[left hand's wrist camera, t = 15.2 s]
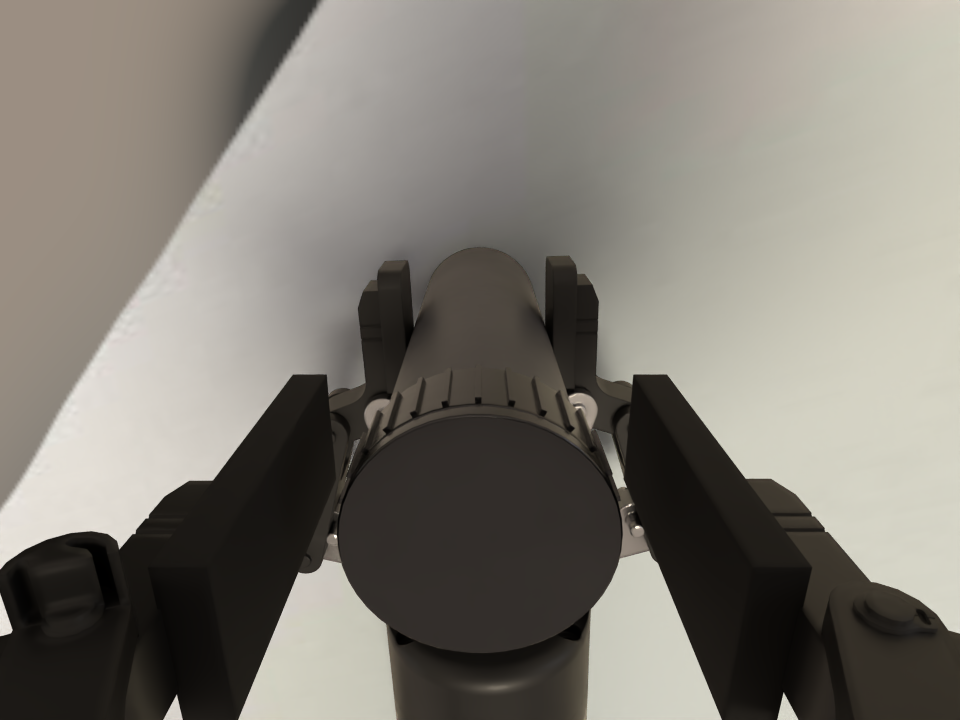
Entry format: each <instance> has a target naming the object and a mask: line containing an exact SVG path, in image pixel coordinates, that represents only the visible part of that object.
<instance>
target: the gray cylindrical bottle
mask: <svg viewBox="0 0 960 720" xmlns="http://www.w3.org/2000/svg"><path fill="white" fill-rule="evenodd" d="M476 365H481V368H493V369H501V370H505V368H506V367H509V368H511V369H512V372H515V373H519V374H523V375H525V376H528V377H530V378H533V377H534V375H535V376H537V377H539V378H540V382H542V383H543V384H545V385H547V386H549V387H551V388H552V389H554V390H555V391H556V392H558V391H559V390H561V391H563V392H564V394H565V397H566V399H567V400H568V401H569V398H568V395H567V392H566V389H565V385H564V382H563V379H562V376H561V373H560V370H559V367H558V364H557V361H556V358H555V355H554V352H553V349H552V346H551V343H550V340H549V337H548V334H547V331H546V328H545V324H544V321H543V318H542V315H541V312H540V309H539V306H538V303H537V300H536V297H535V294H534V291H533V288H532V285H531V282H530V279H529V277H528V275H527V273H526V272H525V271H524V269H523V268H522V267H521V265H520V264H519V263H518V262H517V261H515V260H514V259H513V258H512V257H510V256H509V255H507V254H505V253H503V252H501V251H498V250H495V249H491V248H481V247H477V248H469V249H465V250H462V251H459V252H457V253H455V254H453V255H451V256H450V257H448V258H447V259H446V260H444V261H443V262H442V263H441V264H440V265H439V266H438V268H437V269H436V270H435V272H434V273H433V275H432V277H431V279H430V282H429V284H428V287H427V290H426V293H425V296H424V299H423V303H422V306H421V309H420V312H419V315H418V318H417V321H416V324H415V327H414V330H413V333H412V336H411V339H410V342H409V345H408V348H407V351H406V354H405V357H404V360H403V363H402V366H401V369H400V373H399V376H398V379H397V382H396V385H395V388H394V391H393V394H392V397H391V400H390V402H391V401H392V398H393V395H394V393H396V392H397V391H399V393H400V394H401V393H402V392H403V391H405V390H406V389H407V388H409V387H411V386H413V385H415V384H416V383H417V381H418V378H420V377H424V379H427V378H429V377H432V376H434V375H437V374H440V373H444V372H445V371H446V368H452V370H458V369H466V368H475V366H476ZM569 402H570V401H569Z"/></svg>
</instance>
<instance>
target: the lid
mask: <svg viewBox="0 0 960 720" xmlns="http://www.w3.org/2000/svg"><path fill="white" fill-rule="evenodd" d="M346 477H347V480H346V482H345V485H344V488H343V490H342V493H341V496H340V498H339V504H341V506H340V511H339V516H338V523H337V542H338V551H339V555H340V559H341V563H342V566H343V569H344V571H345V574H346V576H347V578H348V581H349V582H350V584H351V586H352V587H353V589H354V591H355V592H356V594H357V595H358V597H359V598H360V599H361V600H362V601H363V603H364V604H365V605H366V606H367V607H368V608H369V609H370V610H371V611H372V612H373V613H374V614H375V615H376V616H377V617H378V618H379V619H381V620H382V621H383V622H385V623H386V624H387V625H389V626H390V627H391V628H393V629H395V630H396V631H398V632H400V633H402V634H403V635H405V636H407V637H409V638H412V639H414V640H416V641H419V642H421V643H424V644H427V645H430V646H433V647H436V648H441V649H446V650H451V651H457V652H467V653H493V652H503V651H509V650H514V649H519V648H523V647H526V646H530V645H533V644H536V643H539V642H541V641H544V640H546V639H548V638H550V637H553V636H555V635H556V634H558V633H560V632H562V631H563V630H565V629H567V628H568V627H570V626H571V625H572V624H574V623H575V622H576V621H578V620H579V619H580V618H582V617H583V616H584V615H585V614H586V613H587V612H588V611H589V610H590V609H591V608H592V607H593V606H594V605H595V604H596V602H597V601H598V600H599V599H600V597H601V596H602V595H603V594H604V592H605V590H606V589H607V587H608V585H609V584H610V582H611V580H612V578H613V575H614V573H615V571H616V568H617V566H618V562H619V558H620V554H621V550H622V540H623V527H622V517H621V512H620V508H619V503H618V501H621V499H620V495H619V492H618V490H617V487H616V485H615V482H614V479H613V477H612V471H611V468H610V466H609V463H608V461H607V458H606V455H605V453H604V450H603V447H602V445H601V442H600V440H599V437H598V434H597V432H596V430H594V431H591V430H590V428H589V425H588V423H587V420H586V417H585V414H584V412H583V410H582V409H581V408H579V409H578V410H577V409H576V408H575V407H574V406H573V405H572V404H571V403H570V402H569V401H568V400H567V399H566V397H565V394H564V392H563V391H561V390H559V391H558V392H556V391H555V390H554V389H552V388H551V387H549V386H547V385H545V384H543V383H542V382H540V378H539V377H537V376H535V375H534V377H533V378H530V377H528V376H525V375H523V374H519V373H515V372H512V369H511V368H509V367H506V368H505V370H501V369H493V368H481V365H476V366H475V368H466V369H458V370H452V368H446V371H445V372H444V373H440V374H437V375H434V376H432V377H429V378H427V379H424V377H420V378H418V381H417V383H416V384H415V385H413V386H411V387H409V388H407V389H406V390H405V391H403V392H402V393H401V394H400V393H399V391H397V392H396V393H394V395H393V398H392V401H391V402H390V403H389V404H388V405H387V406H386V407H385V408H384V409H383V410H382V412H380V411H379V410H377V411H376V413H375V414H374V417H373V420H372V422H371V425H370V428H369V431H368V433H365V432H363V434H362V436H361V439H360V441H359V444H358V447H357V449H356V452H355V454H354V457H353V460H352V462H351V465H350V467H349V470H348V473H347V475H346Z"/></svg>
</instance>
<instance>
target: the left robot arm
mask: <svg viewBox="0 0 960 720" xmlns="http://www.w3.org/2000/svg"><path fill="white" fill-rule="evenodd" d="M335 481H336V470H335V459H334V449H333V438H332V427H331V417H330V406H329V396H328V385H327V375H292V377H291V378H290V379H289V381H288V382H287V383H286V385H285V386H284V387H283V389H282V390H281V391H280V393H279V394H278V395H277V397H276V398H275V399H274V401H273V402H272V403H271V405H270V406H269V407H268V409H267V410H266V411H265V413H264V414H263V415H262V416H261V418H260V419H259V420H258V422H257V423H256V424H255V426H254V427H253V428H252V430H251V431H250V432H249V434H248V435H247V436H246V438H245V439H244V440H243V442H242V443H241V444H240V446H239V447H238V448H237V450H236V451H235V452H234V454H233V455H232V456H231V458H230V459H229V460H228V461H227V463H226V464H225V465H224V467H223V468H222V469H221V471H220V472H219V473H218V475H217V476H216V477H215V479H214V480H213V481H188V482H187V483H185V484H184V485H182V486H181V487H179V488H177V489H176V490H174V491H173V492H171V493H170V494H168V495H166V496H165V497H164V498H163V499H162V500H161V502H160V503H159V504H158V505H157V506H156V507H155V509H154V510H153V511H152V512H151V513H150V514H149V519H145V520H144V521H143V523H142V524H141V525H140V526H139V527H138V528H137V530H136V534H132V535H131V537H130V538H129V539H128V540H127V541H126V543H125V544H124V545H123V546H122V547H121V548H120V550H119V547H118V543H117V541H116V540H115V539H113V538H112V537H111V536H109V535H108V534H104V533H98V532H92V531H90V532H79V533H69V534H66V535H62V536H59V537H55V538H51V539H48V540H45V541H43V542H41V543H39V544H36V545H34V546H32V547H30V548H28V549H25V550H24V551H22V552H21V553H19V554H18V555H17V556H15V557H14V558H12V559H11V560H9V561H8V562H6V564H5V565H4V566H3V567H2V568H1V569H0V594H1V597H2V600H3V603H4V606H5V609H6V612H7V615H8V617H9V620H10V623H11V626H12V629H13V631H12V633H11V634H8V635H4V636H0V720H163V719H164V717H165V715H166V713H167V712H168V710H169V708H170V706H171V704H172V702H173V700H174V698H175V697H176V695H177V697H178V701H179V705H180V709H181V714H182V718H183V720H238V719H239V716H240V714H241V711H242V709H243V706H244V704H245V701H246V699H247V697H248V694H249V692H250V689H251V687H252V684H253V682H254V679H255V677H256V674H257V672H258V670H259V667H260V665H261V662H262V660H263V657H264V655H265V652H266V650H267V648H268V645H269V643H270V640H271V638H272V635H273V633H274V630H275V628H276V626H277V623H278V621H279V618H280V616H281V613H282V611H283V608H284V606H285V603H286V601H287V599H288V596H289V594H290V591H291V589H292V586H293V584H294V581H295V579H296V577H297V574H298V572H299V569H300V567H301V564H302V562H303V559H304V557H305V555H306V552H307V550H308V547H309V545H310V542H311V540H312V537H313V535H314V532H315V530H316V528H317V525H318V523H319V520H320V518H321V515H322V513H323V510H324V508H325V506H326V503H327V501H328V498H329V496H330V493H331V491H332V488H333V486H334V484H335ZM624 481H625V484H626V486H627V488H628V491H629V493H630V496H631V498H632V501H633V503H634V506H635V508H636V510H637V513H638V515H639V518H640V520H641V523H642V525H643V528H644V530H645V532H646V535H647V537H648V540H649V542H650V545H651V547H652V550H653V552H654V555H655V557H656V559H657V562H658V564H659V567H660V569H661V572H662V574H663V577H664V579H665V581H666V584H667V586H668V589H669V591H670V594H671V596H672V599H673V601H674V603H675V606H676V608H677V611H678V613H679V616H680V618H681V621H682V623H683V626H684V628H685V630H686V633H687V635H688V638H689V640H690V643H691V645H692V648H693V650H694V652H695V655H696V657H697V660H698V662H699V665H700V667H701V670H702V672H703V675H704V677H705V679H706V682H707V684H708V687H709V689H710V692H711V694H712V697H713V699H714V701H715V704H716V706H717V709H718V711H719V714H720V716H721V719H722V720H777V718H778V714H779V709H780V705H781V701H782V697H783V692H784V693H785V695H786V697H787V699H788V701H789V703H790V705H791V707H792V708H793V710H794V712H795V714H796V716H797V718H798V720H960V634H959V633H955V632H952V631H948V629H947V628H946V627H945V625H944V624H943V622H942V621H941V620H940V618H939V617H938V616H937V614H936V613H934V612H933V611H932V610H931V609H929V608H928V607H927V606H925V605H924V604H923V603H922V602H920V601H919V600H917V599H915V598H913V597H911V596H909V595H908V594H906V593H904V592H902V591H900V590H898V589H895V588H891V587H888V586H885V585H882V584H879V583H874V582H870V580H869V579H868V578H867V577H866V576H865V575H864V573H863V572H862V571H861V570H860V569H859V568H858V566H857V565H856V564H855V563H854V562H853V561H852V559H851V558H850V557H849V556H848V555H847V554H846V552H845V551H844V550H843V549H842V548H841V547H840V546H839V544H838V543H837V542H836V541H835V540H834V539H833V537H832V536H831V535H830V534H829V533H828V532H825V530H824V529H825V528H824V527H823V526H822V525H821V523H820V522H819V521H818V520H817V519H816V518H815V517H812V515H811V512H810V511H809V509H808V508H807V507H806V506H805V505H804V504H803V502H802V501H801V500H800V499H799V498H798V497H797V495H796V494H794V493H792V492H791V491H789V490H788V489H786V488H785V487H783V486H781V485H780V484H778V483H777V482H775V481H774V480H772V479H745V477H744V476H743V475H742V473H741V472H740V471H739V469H738V468H737V467H736V465H735V464H734V463H733V461H732V460H731V459H730V458H729V456H728V455H727V454H726V452H725V451H724V450H723V448H722V447H721V446H720V444H719V443H718V442H717V440H716V439H715V438H714V436H713V435H712V434H711V432H710V431H709V430H708V428H707V427H706V426H705V424H704V423H703V422H702V420H701V419H700V418H699V416H698V415H697V414H696V413H695V411H694V410H693V409H692V407H691V406H690V405H689V403H688V402H687V401H686V399H685V398H684V397H683V395H682V394H681V393H680V391H679V390H678V389H677V387H676V386H675V385H674V383H673V382H672V381H671V379H670V378H669V377H668V375H633V385H632V396H631V406H630V417H629V427H628V438H627V449H626V459H625V470H624Z"/></svg>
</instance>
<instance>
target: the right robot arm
mask: <svg viewBox="0 0 960 720" xmlns="http://www.w3.org/2000/svg"><path fill="white" fill-rule="evenodd" d="M598 306H599V301H598V298H597V296H596V293H595V290H594V288H593V285H592V284H591V282H590V281H589V279H588V278H587V277H586V275H585V274H577V269H576V265H575V263H574V262H573V260H572V259H571V258H570V256H547V257H546V285H545V328H546V331H547V334H548V337H549V340H550V343H551V346H552V349H553V352H554V355H555V358H556V361H557V364H558V367H559V370H560V373H561V376H562V379H563V382H564V385H565V389H566V392H567V395H568V398H569V401H570V403H571V404H572V405H573V406H574V407H575V408H576V409H577V410H578V409H579V408H581V409H582V410H583V412H584V414H585V417H586V420H587V423H588V425H589V428H590V430H591V429H592V428H594V429H597V430H601V431H604V432H607V433H611V434H612V438H613V441H614V445H615V448H616V451H617V455H618V458H619V462H620V465H621V469H622V472H623V476H624V470H625V459H626V449H627V438H628V427H629V417H630V406H631V396H632V385H631V384H630V383H628V382H625V381H615V382H610V381H607V380H604V379H601V378H599V377H598V376H596V359H597V332H598ZM358 313H359V323H360V332H361V339H362V351H363V360H364V370H365V379H366V383H364V384H363V385H361V386H359V387H356V388H353V389H351V390H350V389H346V388H340V389H336V390H334V391H333V392H331V393H330V395H329V406H330V417H331V427H332V438H333V449H334V459H335V470H336V481H335V484H334V486H333V488H332V491H331V493H330V496H329V498H328V501H327V503H326V506H325V508H324V510H323V513H322V515H321V518H320V520H319V523H318V525H317V528H316V530H315V532H314V535H313V537H312V540H311V542H310V545H309V547H308V550H307V552H306V555H305V557H304V559H303V562H302V564H301V567H300V569H299V572H300V573H312V572H314V571H316V570H317V569H319V567H320V566H321V564H322V561H323V559H325V560H330V561H334V562H339V563H341V559H340V555H339V551H338V542H337V523H338V516H339V511H340V506H341V504H339V498H340V496H341V493H342V490H343V488H344V485H345V482H346V475H347V472H348V468H349V463H350V458H351V454H352V449H353V444H354V441H355V440H358V439H360V438H361V436H362V434H363V432H365V433H368V431H369V428H370V425H371V422H372V420H373V417H374V414H375V413H376V411H377V410H379V411H380V412H382V410H383V409H384V408H385V407H386V406H387V405H388V404H389V403H390V400H391V397H392V394H393V391H394V388H395V385H396V382H397V379H398V376H399V373H400V369H401V366H402V363H403V360H404V357H405V354H406V351H407V348H408V345H409V342H410V339H411V336H412V333H413V330H414V324H413V310H412V297H411V283H410V270H409V263H408V261H407V260H404V261H385V262H384V263H383V265H382V266H381V267H380V269H379V271H378V276H377V280H371V281H370V282H369V284H368V285H367V287H366V288H365V289H364V291H363V293H362V297H361V300H360V303H359V306H358ZM618 492H619V495H620V499H621V501H618V503H619V508H620V512H621V517H622V527H623V540H622V550H621V554H620V558H623V557H627V556H631V555H634V554H638V553H642V552H646V551H650V553H651V556H652V558H653V559H654V560H655V561H656V562H657V559H656V557H655V555H654V552H653V550H652V547H651V545H650V542H649V540H648V537H647V535H646V532H645V530H644V528H643V525H642V523H641V520H640V518H639V515H638V513H637V510H636V508H635V506H634V503H633V501H632V498H631V496H630V493H629V491H628V488H626V487H621V488H619V489H618ZM590 615H591V609H590V610H589V611H588V612H587V613H586V614H585V615H584V616H583V617H582V618H580V619H579V620H578V621H576V622H575V623H574V624H572V625H571V626H570V627H568V628H567V629H565V630H563V631H562V632H560V633H558V634H556V635H555V636H553V637H550V638H548V639H546V640H544V641H541V642H539V643H536V644H533V645H530V646H526V647H523V648H519V649H514V650H509V651H503V652H493V653H467V652H457V651H451V650H446V649H441V648H436V647H433V646H430V645H427V644H424V643H421V642H419V641H416V640H414V639H412V638H409V637H407V636H405V635H403V634H402V633H400V632H398V631H396V630H395V629H393V628H391V627H390V626H389V625H387V624H386V625H387V634H388V644H389V653H390V662H391V671H392V680H393V690H394V699H395V708H396V717H397V720H586V719H587V693H588V665H589V639H590Z"/></svg>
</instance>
